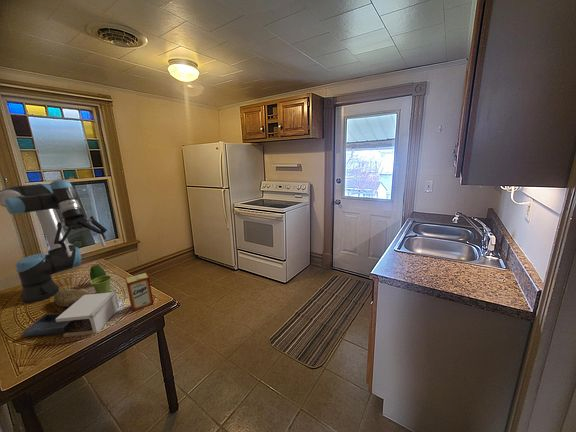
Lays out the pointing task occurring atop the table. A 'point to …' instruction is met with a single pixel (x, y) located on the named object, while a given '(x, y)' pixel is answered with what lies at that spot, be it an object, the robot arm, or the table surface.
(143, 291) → the baking soda box
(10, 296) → the table surface
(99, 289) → the plant pot
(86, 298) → the white box
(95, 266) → the avocado
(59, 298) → the sponge
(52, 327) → the tray
